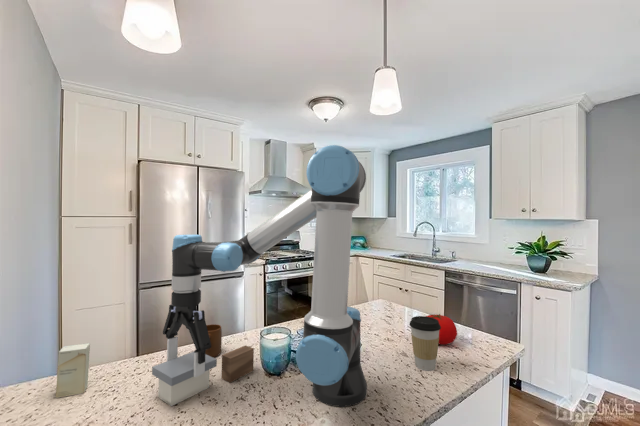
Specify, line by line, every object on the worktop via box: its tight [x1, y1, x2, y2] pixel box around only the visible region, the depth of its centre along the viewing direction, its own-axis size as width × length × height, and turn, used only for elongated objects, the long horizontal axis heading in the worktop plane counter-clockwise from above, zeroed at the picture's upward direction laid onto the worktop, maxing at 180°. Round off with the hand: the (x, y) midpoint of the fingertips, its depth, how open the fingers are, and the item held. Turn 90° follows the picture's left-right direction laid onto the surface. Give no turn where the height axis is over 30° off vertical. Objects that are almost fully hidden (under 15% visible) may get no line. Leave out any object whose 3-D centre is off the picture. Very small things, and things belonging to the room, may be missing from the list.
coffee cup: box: [409, 315, 441, 372], centre depth 99 cm, size 10×10×15 cm
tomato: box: [425, 313, 458, 346], centre depth 120 cm, size 14×13×10 cm
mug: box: [199, 324, 223, 358], centre depth 105 cm, size 12×8×9 cm, turn 9°
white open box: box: [157, 369, 211, 407], centre depth 83 cm, size 6×11×6 cm, turn 144°
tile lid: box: [151, 351, 217, 386], centre depth 83 cm, size 10×13×2 cm
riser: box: [220, 345, 255, 384], centre depth 93 cm, size 4×9×7 cm, turn 144°
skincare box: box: [55, 342, 91, 399], centre depth 83 cm, size 6×4×12 cm
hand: (185, 367), depth 83 cm, fingers open, 13 cm apart
